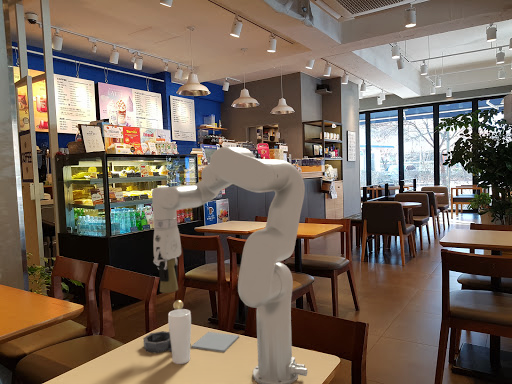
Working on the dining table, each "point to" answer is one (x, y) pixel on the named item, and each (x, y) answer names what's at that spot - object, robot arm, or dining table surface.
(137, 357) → the dining table surface
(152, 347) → the ring stand
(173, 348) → the drinking glass
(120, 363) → the dining table surface
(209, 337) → the mat
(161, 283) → the olive rounded tall piece
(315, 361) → the dining table surface
